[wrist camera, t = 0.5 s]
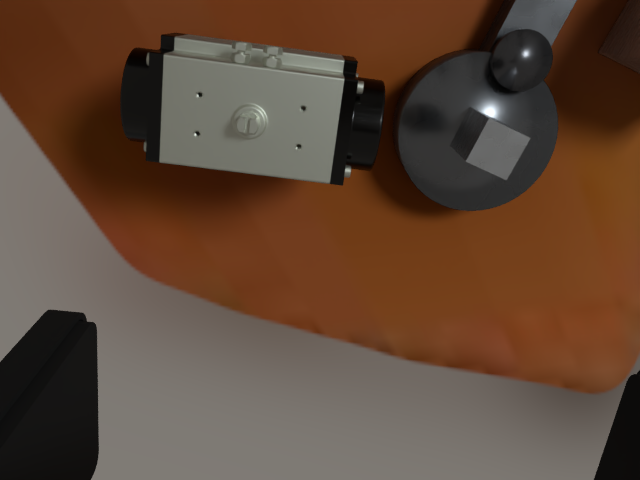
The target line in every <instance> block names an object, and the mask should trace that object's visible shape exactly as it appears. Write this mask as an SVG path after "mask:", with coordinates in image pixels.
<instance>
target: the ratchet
mask: <svg viewBox="0 0 640 480" xmlns="http://www.w3.org/2000/svg"><path fill="white" fill-rule="evenodd" d="M576 1H577V0H504V2H503V4H502V6H501V8H500V10H499V11H498V13H497V15H496V17H495V19H494V21H493V23H492V25H491V27H490V29H489V31H488V33H487V35H486V37H485V38H484V40H483V42H482V44H481V46H480V48H479V50H478V49H465V50H459V51H454V52H451V53H447V54H444V55H442V56H440V57H438V58H436V59H434V60H433V61H431V62H429V63H428V64H426V65H425V66H424V67H423V68H421V69H420V70H419V71H418V72H417V73H416V74H415V75H414V76H413V77H412V78H411V80H410V81H409V82H408V84H407V85H406V86H405V88H404V90H403V92H402V93H401V95H400V98H399V100H398V102H397V105H396V109H395V112H394V118H393V140H394V145H395V149H396V152H397V155H398V157H399V160H400V161H401V163H402V165H403V167H404V168H405V170H406V172H407V174H408V175H409V177H410V179H411V180H412V182H413V183H414V184H415V185H416V187H417V188H418V189H419V190H420V191H421V192H422V193H423V194H425V195H426V196H427V197H429V198H430V199H431V200H433V201H435V202H437V203H439V204H441V205H444V206H446V207H449V208H453V209H458V210H466V211H476V210H485V209H490V208H493V207H497V206H500V205H502V204H505V203H507V202H509V201H511V200H513V199H514V198H516V197H518V196H519V195H521V194H522V193H523V192H525V191H526V190H527V189H528V188H529V187H530V186H531V185H532V184H533V183H534V182H535V181H536V180H537V179H538V178H539V177H540V175H541V174H542V172H543V171H544V169H545V168H546V166H547V164H548V162H549V160H550V158H551V156H552V153H553V151H554V148H555V144H556V139H557V132H558V116H557V110H556V105H555V102H554V99H553V96H552V94H551V92H550V90H549V88H548V86H547V85H546V83H545V82H544V79H545V77H546V76H547V74H548V73H549V71H550V68H551V65H552V60H553V53H552V48H551V46H552V44H553V42H554V40H555V38H556V37H557V35H558V33H559V31H560V29H561V28H562V26H563V24H564V22H565V20H566V19H567V17H568V15H569V13H570V11H571V10H572V8H573V6H574V4H575V2H576Z"/></svg>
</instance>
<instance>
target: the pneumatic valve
mask: <svg viewBox="0 0 640 480" xmlns="http://www.w3.org/2000/svg"><path fill="white" fill-rule="evenodd" d="M357 63H358V61H357V60H356V59H355V58H354V57H350V56H343V55H336V54H328V53H321V52H314V51H306V50H299V49H292V48H284V47H278V46H270V45H262V44H255V43H248V42H241V41H233V40H226V39H219V38H211V37H204V36H197V35H189V34H182V33H170V34H163V35H161V48H160V49H159V50H153V49H145V48H134V49H133V50H132V51H131V53H130V54H129V56H128V58H127V61H126V64H125V68H124V72H123V78H122V86H121V120H122V126H123V130H124V133H125V135H126V137H127V138H128V139H129V140H130V141H137V142H144V151H145V152H146V161H151V162H159V163H167V164H175V165H183V166H191V167H199V168H207V169H215V170H223V171H231V172H239V173H247V174H255V175H263V176H271V177H279V178H287V179H295V180H303V181H311V182H319V183H327V184H335V185H343V181H344V177H350V174H351V169H358V170H365V171H370V170H371V169H372V168H373V165H374V163H375V159H376V156H377V151H378V147H379V142H380V136H381V130H382V123H383V115H384V104H385V85H384V82H383V81H382V80H375V79H368V78H361V77H358V73H356V70H357Z"/></svg>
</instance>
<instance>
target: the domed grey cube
mask: <svg viewBox="0 0 640 480" xmlns="http://www.w3.org/2000/svg"><path fill="white" fill-rule="evenodd" d="M598 53H600V54H602V55H604V56H606V57H608V58H610V59H612V60H614V61H616V62H618V63H620V64H622V65H624V66H626V67H628V68H630V69H632V70H634V71H635V72H637V73H639V74H640V0H628V2H627V4H626V5H625V7H624V9H623V11H622V12H621V14H620V16H619V17H618V19H617V21H616V23H615V24H614V26H613V28H612V29H611V31H610V33H609V35H608V36H607V38H606V40H605V41H604V43H603V45H602V46H601V48H600V50H599V52H598Z"/></svg>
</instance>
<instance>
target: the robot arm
mask: <svg viewBox="0 0 640 480" xmlns="http://www.w3.org/2000/svg"><path fill="white" fill-rule="evenodd" d="M97 374H98V373H97V328H96V324H95V323H94V322H87V320H86V316H85V315H84V313H79V312H68V311H58V310H48V311H46V312H45V313H44V314H43V315H42V316H41V317H40V319H39V320H38V321H37V322H36V323H35V324H34V325H33V326H32V327H31V329H30V330H29V331H28V332H27V333H26V334H25V335H24V336H23V337H22V339H21V340H20V341H19V342H18V343H17V344H16V345H15V346H14V347H13V348H12V350H11V351H10V352H9V353H8V354H7V355H6V356H5V357H4V358H3V360H2V361H1V362H0V480H91V478H92V476H93V474H94V471H95V469H96V465H97V460H98V453H99V452H98V451H99V446H98V445H99V442H98V379H97V377H98V375H97ZM594 480H640V371H639V372H638V373H637V374H634V375H631V376H630V377H629V379H628V381H627V383H626V386H625V389H624V392H623V395H622V398H621V401H620V404H619V407H618V410H617V413H616V416H615V419H614V422H613V425H612V428H611V430H610V433H609V436H608V440H607V443H606V445H605V448H604V452H603V454H602V457H601V460H600V463H599V466H598V470H597V472H596V475H595V478H594Z"/></svg>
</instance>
